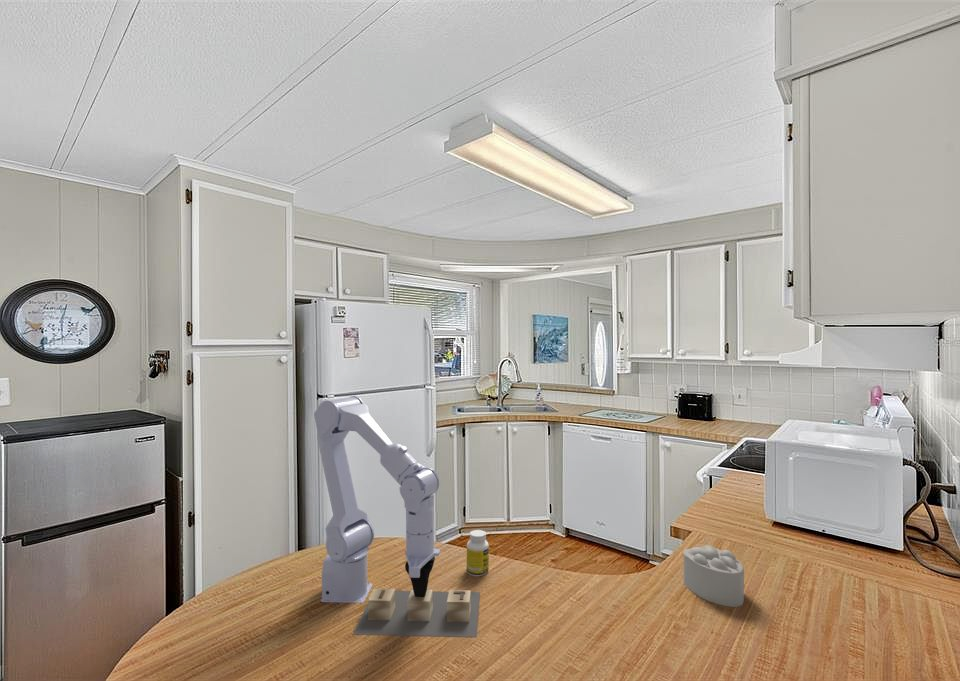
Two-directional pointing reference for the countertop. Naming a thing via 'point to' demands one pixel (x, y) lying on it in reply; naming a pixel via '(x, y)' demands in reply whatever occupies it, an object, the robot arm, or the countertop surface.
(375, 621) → the charcoal mat
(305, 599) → the countertop surface
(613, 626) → the countertop surface
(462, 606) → the numbered block right
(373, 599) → the numbered block left
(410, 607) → the plain birch block
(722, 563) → the lumpy-topped squat cylinder
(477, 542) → the supplement bottle
